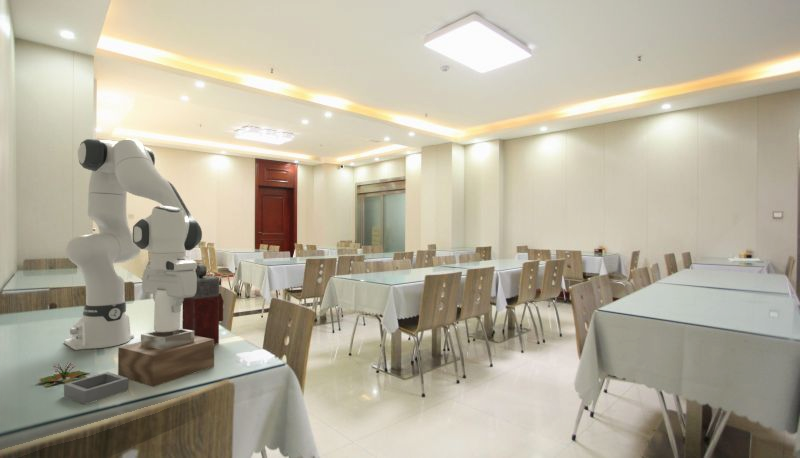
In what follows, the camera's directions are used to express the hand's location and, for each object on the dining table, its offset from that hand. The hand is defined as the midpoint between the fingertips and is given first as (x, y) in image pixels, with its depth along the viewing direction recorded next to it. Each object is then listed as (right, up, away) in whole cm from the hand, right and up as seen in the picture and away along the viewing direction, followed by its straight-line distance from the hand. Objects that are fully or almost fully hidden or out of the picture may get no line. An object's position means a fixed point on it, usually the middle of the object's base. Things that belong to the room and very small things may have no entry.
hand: (168, 311), depth 117 cm
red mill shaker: (-4, -18, +29) cm, 34 cm away
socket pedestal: (0, -17, 0) cm, 17 cm away
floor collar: (-8, -17, -16) cm, 25 cm away
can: (0, -6, 0) cm, 6 cm away
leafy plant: (-24, -18, -6) cm, 31 cm away
